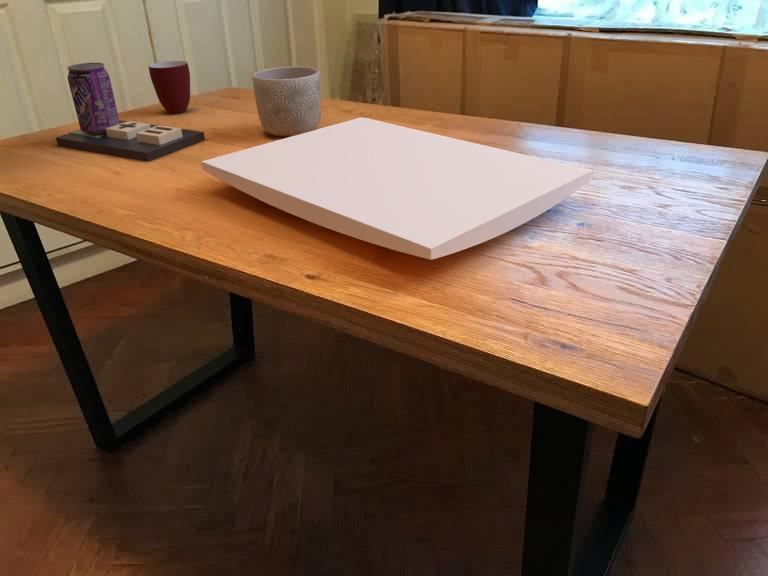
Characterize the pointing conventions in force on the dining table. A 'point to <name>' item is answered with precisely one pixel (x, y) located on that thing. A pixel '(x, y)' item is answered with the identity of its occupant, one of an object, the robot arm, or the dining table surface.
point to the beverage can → (93, 97)
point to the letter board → (133, 140)
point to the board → (400, 185)
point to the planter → (288, 99)
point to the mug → (171, 85)
